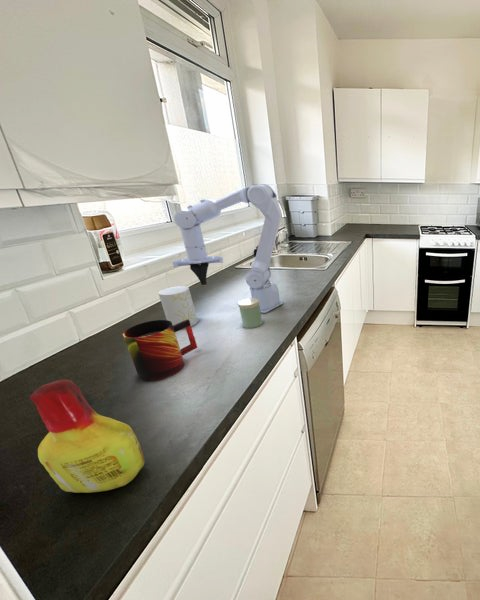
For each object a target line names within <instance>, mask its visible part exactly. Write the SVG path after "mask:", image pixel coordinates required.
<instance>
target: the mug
mask: <svg viewBox="0 0 480 600" xmlns="http://www.w3.org/2000/svg"><path fill="white" fill-rule="evenodd" d="M183 329H185V331H186V335H187V337H188V341H189V344H188V345H186V346H184V347H183V348H180V345H179V344H180V343H179V341H178V338H177V335H176V333H177V332H179V331H181V330H183ZM122 337H123V339H124V342H125V344H126V347H127V350H128V352H129V355H130V358H131V361H132V364H133V366H134V369H135V371H136V373H137V376H138V379H139V380H141V381H142V382H156V381H160V380H164V379H167V378H169V377H172V376H174V375H176V374H177V373H179V372H180V371H182V369H184V367H185V361H184V358H183V356H185V355H186V354H188V353H190V352H192V351H194V350H196V349H198V344H197V342H196V337H195V334H194V332H193V329H192V326H191V324H190V321H189V320H185V321H182V322H180V323H178V324H176V325H172V322H171V321H168V320H167V319H155V320H149V321H144V322H141V323H140V322H139V323H138V324H135V325H133V326H131V327H129V328H127V329H125V330H124V331H123V332H122Z"/></svg>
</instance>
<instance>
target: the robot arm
mask: <svg viewBox="0 0 480 600" xmlns="http://www.w3.org/2000/svg"><path fill="white" fill-rule="evenodd" d="M199 201H200V202H198V203H196V204H194V205H188V206H186V209H179V210H178V211H177V212H175V214H174V216H173V220H174V223H175V225H176V226H178V227H179V229H180V234H181V237H182V241H183V245H184V249H185V253H186V256H187V258H182V259H174V260H172V265H173V267H174V268H178V267H185V266H189V269H190V270H191V271H192V273H194V275H195V276H196V277H197V279H198V281H199V282H200V285H201V286H205V285H207V284H208V283H207V281H208V280H207V275H208V269H209V265H210V264H217V263H219V264H222V263H224V259H223V256H222V255H219V256H215V255H214V256H208V253H207V248H206V245H205V240H204V237H203V233H202V232H203V231H202V228H201V224H204V223H205V222H209V221H210V220H213V219H215V218H217V217H219V216H220V215H221V213H222V210H225V209H227V208H230V207H232V206H234V205H237V204H240V203H246V204H249V203H250V204H252V206H254V207H256V208H257V209H258V210H259V211H260V212H261V214H262V215H263V216H264V220H263V225H262V229H261V233H260V237H259V241H258V245H257V250H256V254H255V258H254V261H253V262H252V265H251V267H250V271H249V272H248V273H247V274H246V276H245V283H246V284H247V286H249V290H250V296H251V297H250V298H257V299H259V303H260V304H259V305H260V311H261V314H267V313H268V312H271V311H272V310H274V309H277V308H278V307H279V306H281V305H283V302H281V297H280V292H279V287H278V285H277V284H276V283H275V282H274V281H270V278H271V275H272V272H271V260H272V259H271V258H272V255H273V251H274V248H275V244H276V240H277V236H278V232H279V229H280V225H281V221H282V217H283V214H282V210H281V207H280V204H279V200H278V195H277V193H276V192H275V191H274V190H273V188H272V187H271V186H270V185H268V184H265V183H261V184H253V185H251V186H247V187H243V188H239V189H237V190H234V191H233V192H230V193H229V194H227V195H225V196H222V197H220V198H218V199H217V200H213V199H210V198H208V199H206V198H201V199H200V200H199Z"/></svg>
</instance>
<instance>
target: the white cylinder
mask: <svg viewBox="0 0 480 600" xmlns="http://www.w3.org/2000/svg"><path fill="white" fill-rule="evenodd" d="M158 297H159V299H160V303H161V306H162V309H163V312H164V316H165V318H166V319H165V320H168V321H171V322H172V325H176V324H178V323H180V322H182V321H185V320H189V321H190V324H191V327H193V326H195V325H196V324H198V322H199V320H198V316H197V313H196V310H195V306H194V305H195V304H194V302H193V299H192V295H191V291H190V287H189V286H185V285H177V286H170V287H167V288H163V289H161V290H159V291H158Z"/></svg>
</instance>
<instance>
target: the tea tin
mask: <svg viewBox="0 0 480 600" xmlns="http://www.w3.org/2000/svg"><path fill="white" fill-rule="evenodd" d="M259 304H260V303H259V299H257V298H252V297H249V298H244V299H241V300H239V301H238V302H237V305H238V308H239V312H240V317H241V322H242V325H243V326H242V327H243V328H246V329H252V328H257V327H260V326H261V325H263V322H264V321H263V317H262V313H261V311H260V305H259Z"/></svg>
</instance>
